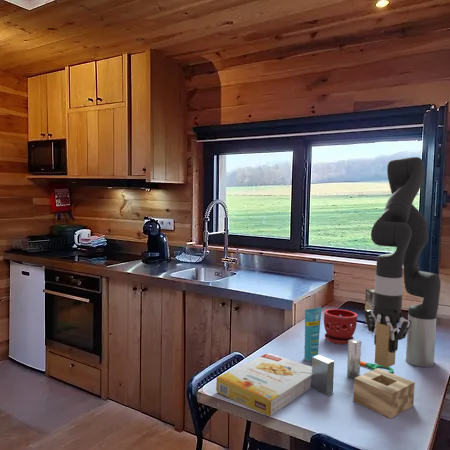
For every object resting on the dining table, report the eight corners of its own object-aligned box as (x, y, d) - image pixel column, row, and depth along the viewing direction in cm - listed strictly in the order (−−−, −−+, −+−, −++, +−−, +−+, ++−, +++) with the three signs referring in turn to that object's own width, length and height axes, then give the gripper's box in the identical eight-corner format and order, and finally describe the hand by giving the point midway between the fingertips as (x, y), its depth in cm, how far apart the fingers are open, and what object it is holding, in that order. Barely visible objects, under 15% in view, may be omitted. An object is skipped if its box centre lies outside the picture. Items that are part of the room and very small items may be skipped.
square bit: (382, 359, 127) (384, 320, 126) (394, 364, 123) (397, 323, 122) (374, 362, 124) (376, 322, 123) (387, 367, 121) (389, 326, 120)
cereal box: (215, 376, 129) (267, 350, 151) (214, 394, 130) (266, 365, 151) (271, 399, 116) (319, 367, 138) (270, 419, 117) (318, 383, 138)
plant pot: (355, 348, 168) (356, 318, 167) (321, 344, 172) (322, 314, 171) (356, 337, 180) (357, 309, 179) (324, 333, 184) (325, 306, 183)
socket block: (376, 389, 133) (377, 368, 133) (413, 405, 124) (414, 382, 123) (353, 401, 126) (354, 378, 125) (390, 418, 116) (391, 394, 116)
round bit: (351, 373, 145) (353, 338, 144) (362, 377, 142) (363, 342, 141) (344, 376, 143) (345, 341, 142) (354, 380, 140) (356, 344, 139)
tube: (308, 363, 153) (310, 311, 151) (299, 358, 157) (300, 307, 155) (323, 359, 157) (325, 308, 155) (313, 354, 161) (315, 304, 159)
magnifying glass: (395, 371, 148) (395, 366, 148) (390, 377, 143) (390, 372, 143) (353, 360, 157) (353, 355, 157) (346, 365, 152) (346, 360, 152)
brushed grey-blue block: (317, 385, 136) (318, 354, 135) (332, 392, 131) (334, 360, 130) (311, 387, 134) (312, 357, 133) (326, 395, 129) (327, 363, 128)
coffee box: (363, 321, 203) (365, 288, 201) (377, 321, 203) (378, 288, 201) (370, 327, 193) (371, 292, 192) (384, 327, 193) (386, 293, 192)
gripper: (419, 294, 119) (415, 354, 120) (373, 285, 130) (371, 339, 131) (404, 298, 114) (401, 360, 116) (359, 288, 125) (356, 345, 127)
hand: (385, 349), depth 124 cm, fingers closed on square bit, 4 cm apart
